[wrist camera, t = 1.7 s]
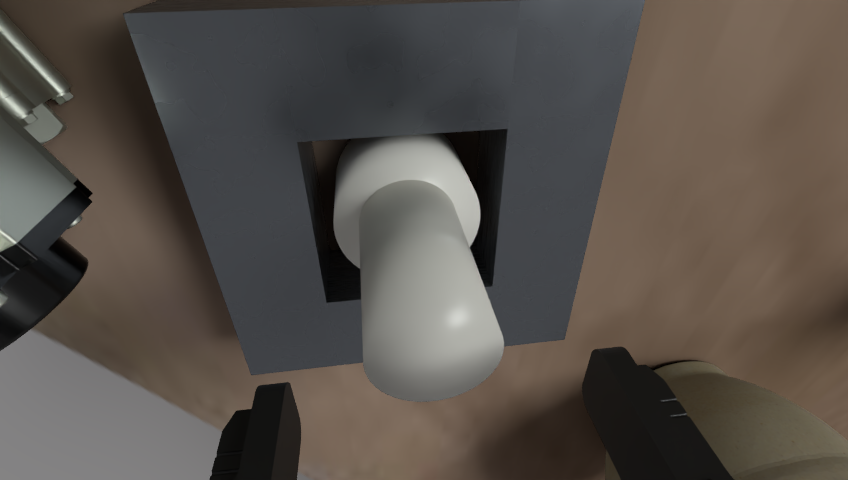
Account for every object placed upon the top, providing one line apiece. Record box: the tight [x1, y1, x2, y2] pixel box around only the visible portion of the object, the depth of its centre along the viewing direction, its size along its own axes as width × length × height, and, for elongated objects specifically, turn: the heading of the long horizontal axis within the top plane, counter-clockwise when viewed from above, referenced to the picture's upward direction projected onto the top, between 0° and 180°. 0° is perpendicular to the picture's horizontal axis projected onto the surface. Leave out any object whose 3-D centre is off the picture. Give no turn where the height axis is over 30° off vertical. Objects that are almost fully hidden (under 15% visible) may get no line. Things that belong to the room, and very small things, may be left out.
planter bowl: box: [605, 361, 848, 480], centre depth 31 cm, size 16×16×11 cm
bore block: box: [123, 0, 645, 375], centre depth 20 cm, size 16×16×4 cm
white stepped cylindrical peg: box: [333, 133, 504, 402], centre depth 17 cm, size 6×6×11 cm
